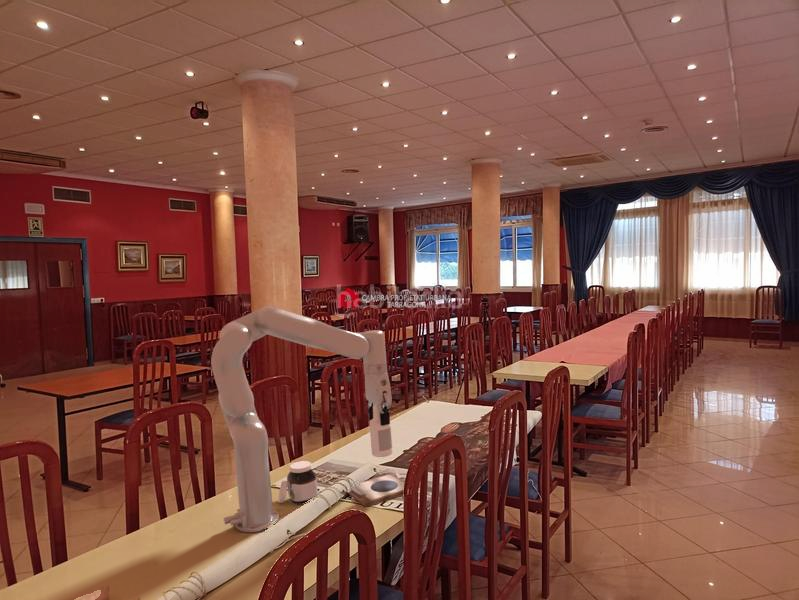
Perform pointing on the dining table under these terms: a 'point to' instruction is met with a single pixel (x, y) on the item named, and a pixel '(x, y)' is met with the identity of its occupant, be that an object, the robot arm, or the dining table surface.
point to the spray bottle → (380, 435)
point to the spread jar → (299, 483)
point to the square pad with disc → (377, 490)
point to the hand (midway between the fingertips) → (379, 421)
